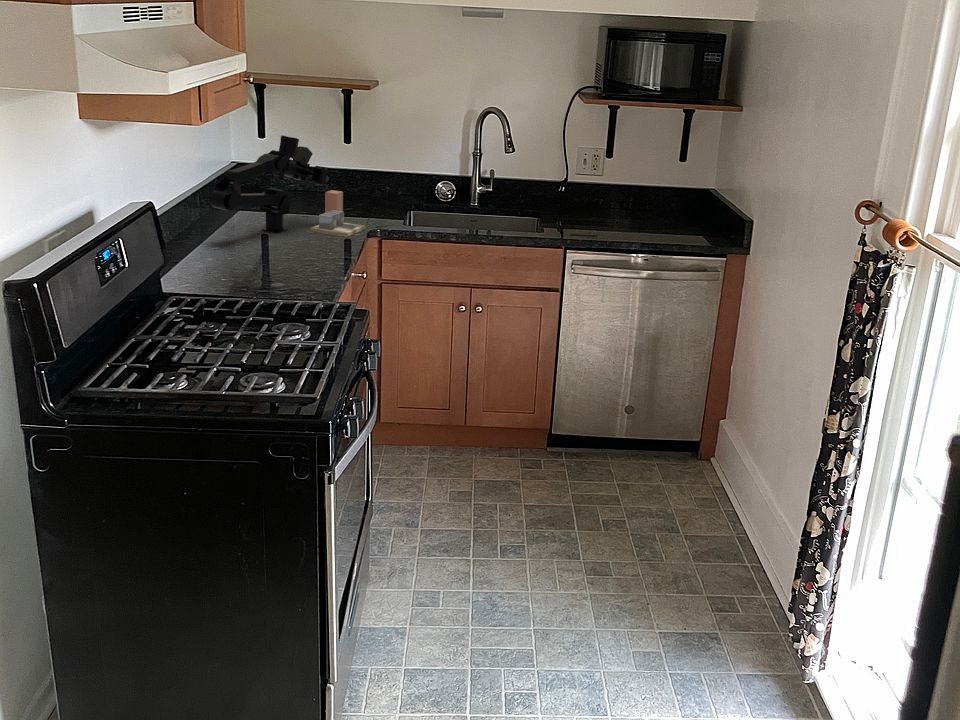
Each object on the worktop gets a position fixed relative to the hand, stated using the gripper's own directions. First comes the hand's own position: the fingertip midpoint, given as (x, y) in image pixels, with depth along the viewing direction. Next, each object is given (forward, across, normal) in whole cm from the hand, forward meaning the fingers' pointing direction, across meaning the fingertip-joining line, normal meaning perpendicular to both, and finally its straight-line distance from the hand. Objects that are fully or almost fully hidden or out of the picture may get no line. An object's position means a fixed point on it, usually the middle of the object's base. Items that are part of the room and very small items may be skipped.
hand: (318, 176), depth 333 cm
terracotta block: (+5, -7, +15) cm, 17 cm away
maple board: (-4, -16, +17) cm, 24 cm away
